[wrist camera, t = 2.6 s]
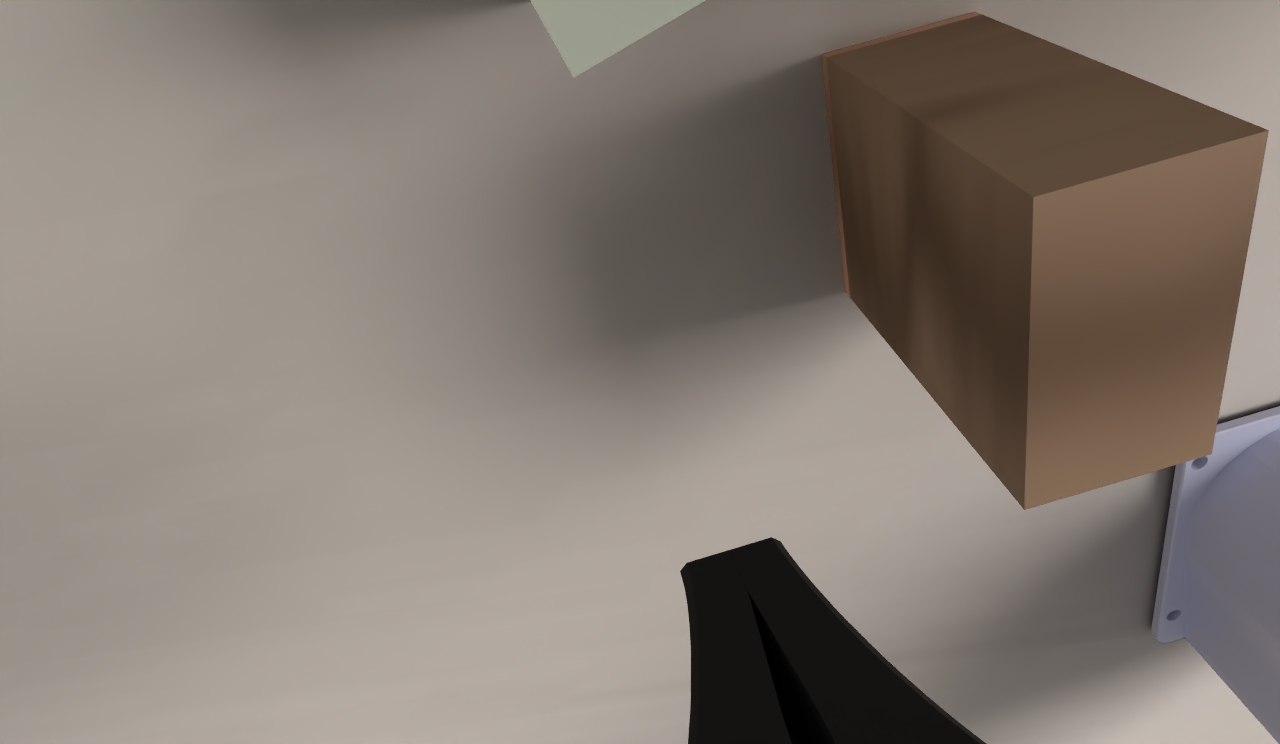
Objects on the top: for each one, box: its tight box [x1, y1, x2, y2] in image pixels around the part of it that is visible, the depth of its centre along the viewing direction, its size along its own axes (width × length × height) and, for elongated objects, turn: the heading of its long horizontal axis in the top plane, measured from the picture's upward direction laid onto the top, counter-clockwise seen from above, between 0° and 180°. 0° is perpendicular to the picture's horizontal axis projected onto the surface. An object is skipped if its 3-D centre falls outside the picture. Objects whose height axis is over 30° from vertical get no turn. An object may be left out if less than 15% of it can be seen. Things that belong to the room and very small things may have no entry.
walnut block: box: [822, 12, 1269, 510], centre depth 18 cm, size 6×4×8 cm, turn 12°
